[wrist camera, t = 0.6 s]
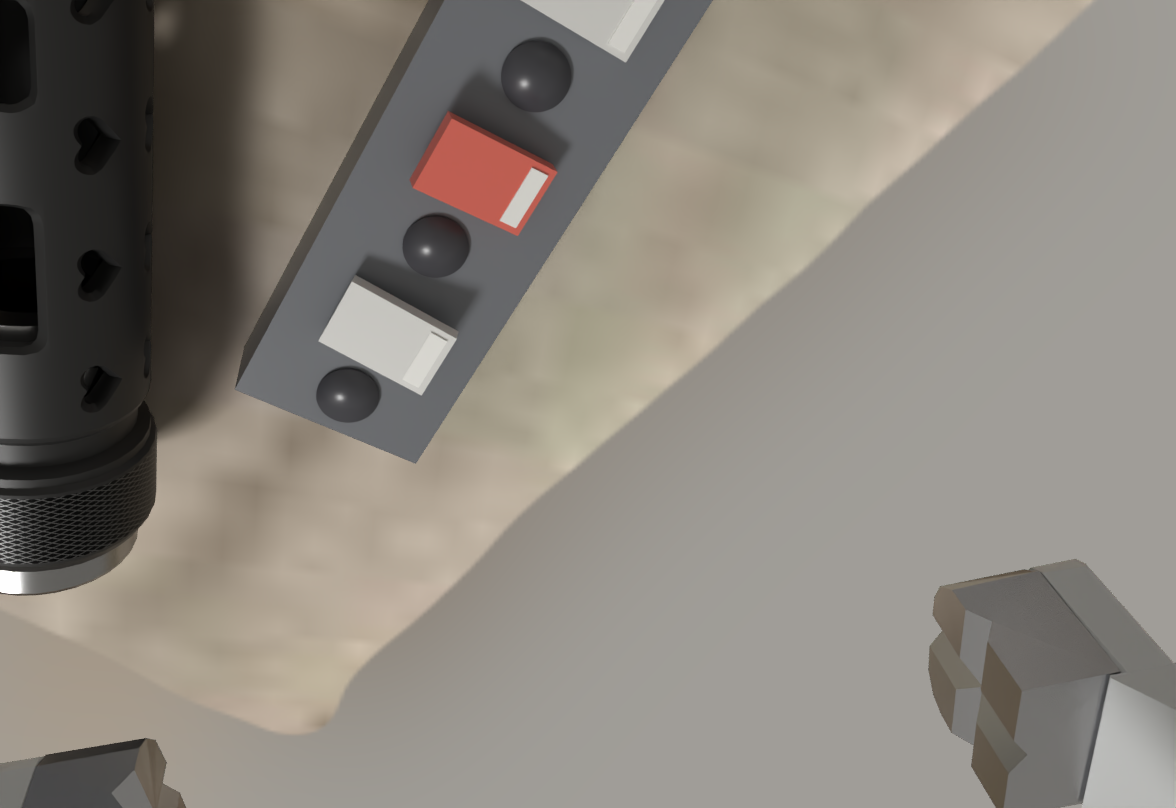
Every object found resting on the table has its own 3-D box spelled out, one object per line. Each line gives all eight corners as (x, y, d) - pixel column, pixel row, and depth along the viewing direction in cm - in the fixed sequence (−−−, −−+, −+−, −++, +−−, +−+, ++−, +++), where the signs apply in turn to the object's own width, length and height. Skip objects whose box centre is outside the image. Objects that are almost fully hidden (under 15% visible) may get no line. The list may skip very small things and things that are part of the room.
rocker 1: (355, 274, 47) (351, 282, 46) (458, 331, 48) (456, 339, 47) (321, 333, 48) (317, 341, 47) (423, 387, 49) (421, 396, 48)
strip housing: (510, -154, 43) (521, -142, 39) (693, -28, 46) (719, -8, 43) (244, 346, 52) (234, 391, 49) (413, 418, 56) (415, 465, 52)
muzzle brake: (187, -128, 42) (135, -88, 33) (173, 473, 55) (134, 613, 47) (-92, -184, 39) (-227, -156, 31) (-34, 458, 53) (-117, 601, 45)
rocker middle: (448, 110, 43) (452, 119, 42) (552, 164, 45) (558, 172, 45) (409, 179, 44) (413, 188, 43) (513, 227, 47) (518, 236, 46)
